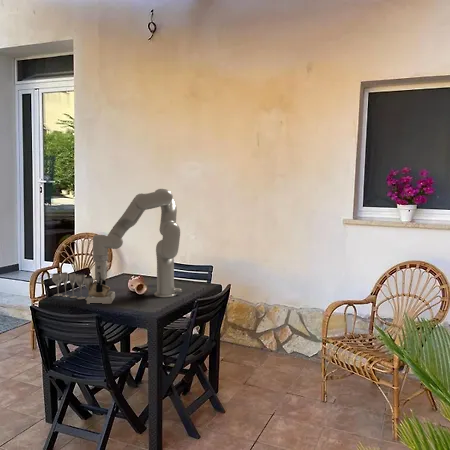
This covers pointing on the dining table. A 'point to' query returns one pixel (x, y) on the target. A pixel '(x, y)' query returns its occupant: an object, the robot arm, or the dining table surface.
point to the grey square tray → (101, 299)
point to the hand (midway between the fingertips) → (101, 289)
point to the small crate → (99, 294)
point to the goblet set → (72, 282)
